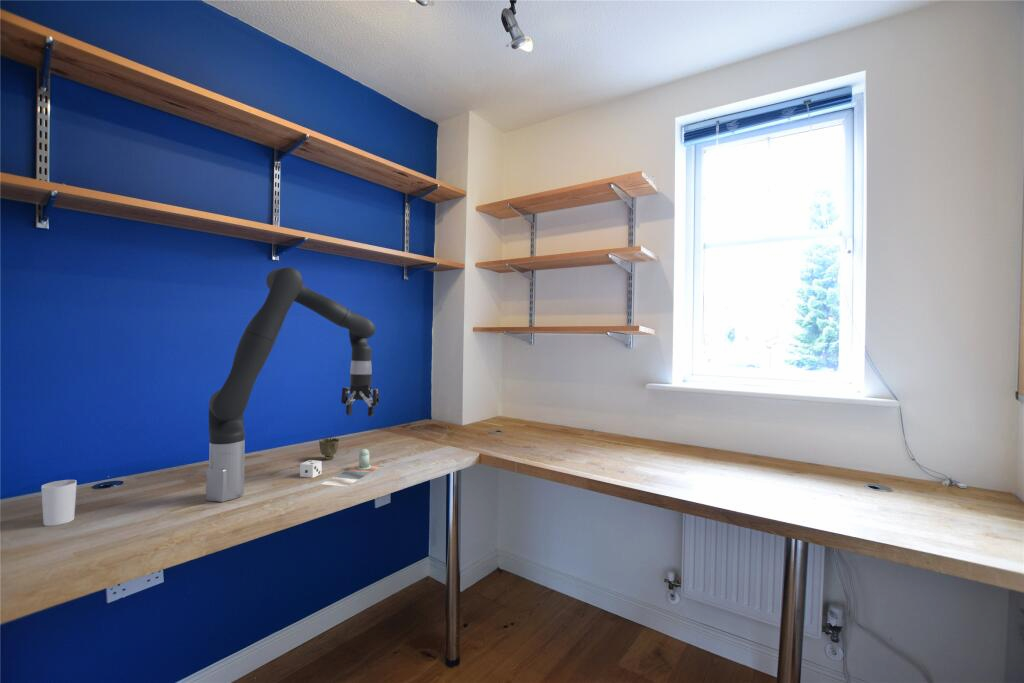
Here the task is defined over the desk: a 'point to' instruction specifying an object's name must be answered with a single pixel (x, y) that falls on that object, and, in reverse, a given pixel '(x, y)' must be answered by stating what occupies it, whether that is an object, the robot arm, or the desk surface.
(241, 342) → the robot arm
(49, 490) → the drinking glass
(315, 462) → the die
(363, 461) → the pawn
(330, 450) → the cup
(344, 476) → the game strip
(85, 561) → the desk surface
